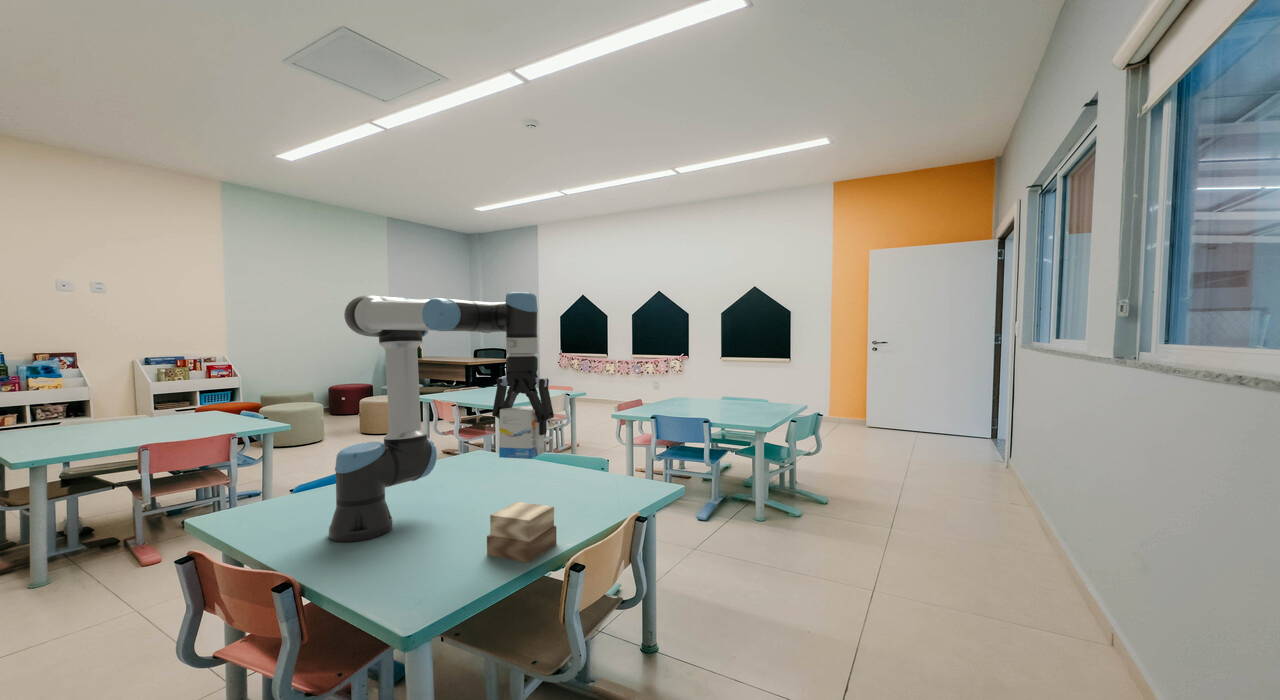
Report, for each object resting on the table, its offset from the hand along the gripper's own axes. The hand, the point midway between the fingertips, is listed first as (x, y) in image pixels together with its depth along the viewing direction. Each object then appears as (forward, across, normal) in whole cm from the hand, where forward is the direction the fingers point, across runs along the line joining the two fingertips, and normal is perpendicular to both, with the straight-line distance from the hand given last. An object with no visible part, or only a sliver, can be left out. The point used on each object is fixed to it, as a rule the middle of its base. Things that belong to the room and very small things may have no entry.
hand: (522, 446), depth 125 cm
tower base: (+26, 0, 0) cm, 26 cm away
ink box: (+2, 0, 0) cm, 2 cm away
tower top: (+21, 0, 0) cm, 21 cm away
